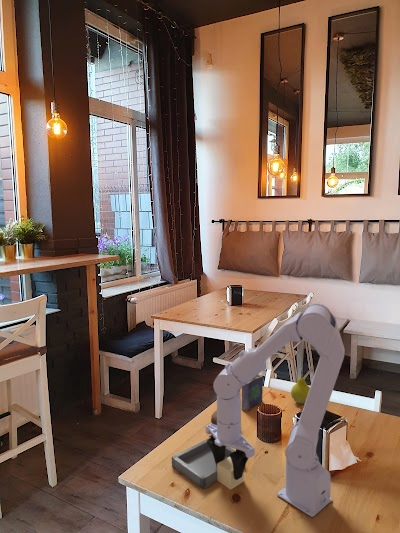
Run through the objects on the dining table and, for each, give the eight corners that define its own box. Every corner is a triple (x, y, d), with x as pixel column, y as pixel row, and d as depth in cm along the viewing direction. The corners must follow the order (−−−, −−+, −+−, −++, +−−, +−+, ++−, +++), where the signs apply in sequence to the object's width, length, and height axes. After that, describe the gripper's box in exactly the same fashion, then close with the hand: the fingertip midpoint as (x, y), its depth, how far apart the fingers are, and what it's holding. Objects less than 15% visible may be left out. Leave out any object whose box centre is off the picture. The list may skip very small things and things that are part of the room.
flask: (246, 412, 131) (246, 378, 130) (238, 409, 133) (238, 375, 132) (264, 402, 138) (264, 370, 136) (257, 399, 140) (257, 367, 139)
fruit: (293, 396, 142) (294, 364, 140) (313, 400, 139) (314, 366, 137) (289, 405, 136) (289, 371, 134) (309, 409, 133) (310, 374, 131)
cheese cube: (243, 481, 97) (243, 464, 97) (230, 490, 94) (230, 472, 94) (230, 472, 100) (230, 456, 100) (217, 480, 98) (217, 463, 97)
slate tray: (243, 464, 104) (243, 455, 103) (202, 489, 94) (202, 479, 94) (211, 445, 113) (211, 436, 112) (171, 466, 103) (171, 456, 103)
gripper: (196, 413, 98) (197, 464, 100) (239, 437, 88) (239, 494, 89) (217, 404, 103) (217, 453, 105) (260, 425, 92) (260, 480, 94)
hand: (229, 471), depth 97 cm, fingers open, 6 cm apart
